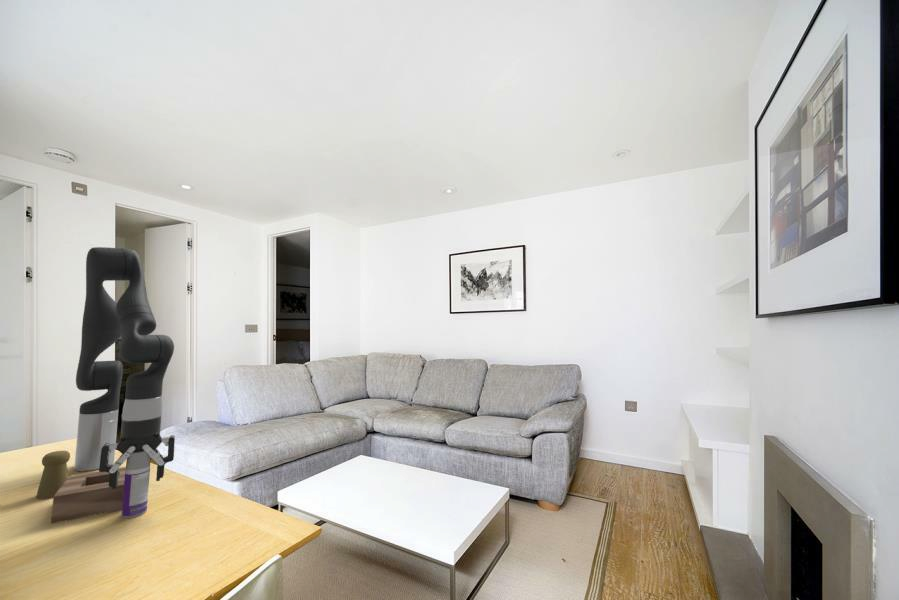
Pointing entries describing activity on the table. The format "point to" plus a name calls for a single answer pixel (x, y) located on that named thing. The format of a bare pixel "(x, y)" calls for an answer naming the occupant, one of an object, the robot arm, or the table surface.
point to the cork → (53, 474)
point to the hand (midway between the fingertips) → (136, 483)
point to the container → (136, 484)
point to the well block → (87, 496)
